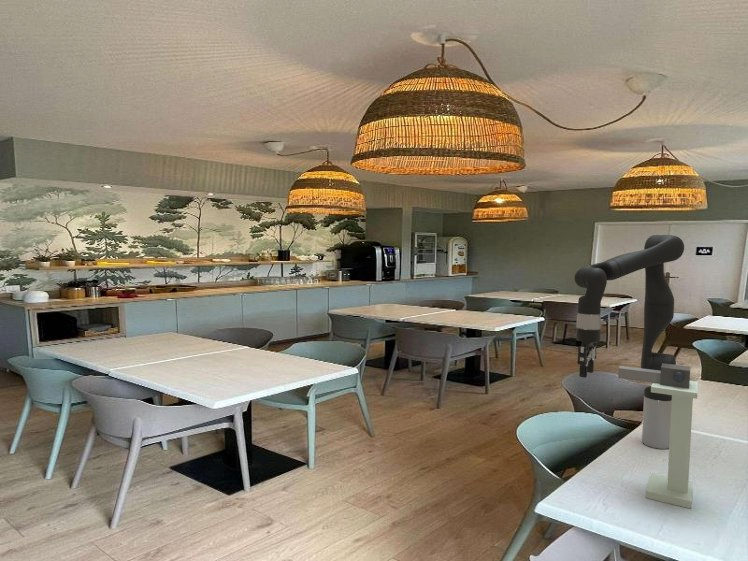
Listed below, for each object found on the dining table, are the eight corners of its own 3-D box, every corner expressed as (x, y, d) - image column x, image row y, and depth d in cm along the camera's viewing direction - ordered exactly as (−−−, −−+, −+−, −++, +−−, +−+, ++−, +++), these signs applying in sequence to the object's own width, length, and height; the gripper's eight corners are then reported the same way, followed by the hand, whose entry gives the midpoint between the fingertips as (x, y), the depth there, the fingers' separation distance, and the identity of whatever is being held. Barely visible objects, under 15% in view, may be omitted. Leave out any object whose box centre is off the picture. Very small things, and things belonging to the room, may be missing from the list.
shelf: (649, 478, 157) (654, 376, 155) (692, 488, 152) (697, 381, 149) (645, 497, 146) (651, 386, 143) (691, 508, 140) (697, 393, 137)
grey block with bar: (620, 374, 157) (621, 358, 157) (689, 383, 147) (690, 366, 147) (617, 379, 151) (617, 362, 150) (689, 389, 141) (689, 371, 141)
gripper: (582, 323, 180) (580, 369, 181) (570, 328, 169) (568, 376, 169) (605, 325, 176) (603, 372, 176) (595, 330, 164) (592, 380, 165)
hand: (586, 374), depth 173 cm, fingers open, 8 cm apart
